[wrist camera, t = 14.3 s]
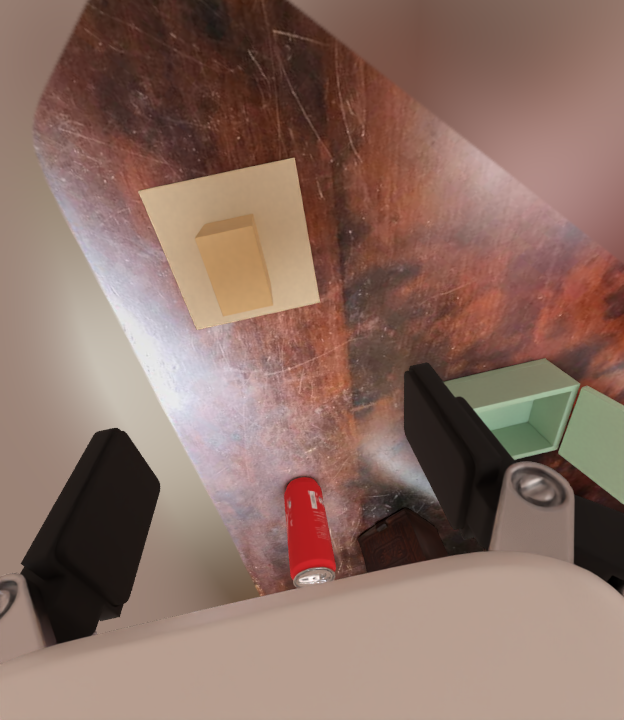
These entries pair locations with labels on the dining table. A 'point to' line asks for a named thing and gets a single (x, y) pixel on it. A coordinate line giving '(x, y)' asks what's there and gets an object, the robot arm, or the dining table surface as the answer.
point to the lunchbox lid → (597, 440)
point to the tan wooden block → (235, 264)
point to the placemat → (225, 201)
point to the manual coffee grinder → (400, 542)
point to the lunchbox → (521, 404)
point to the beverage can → (308, 534)
